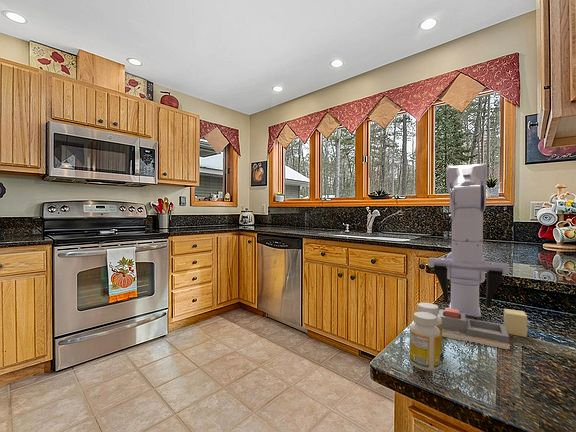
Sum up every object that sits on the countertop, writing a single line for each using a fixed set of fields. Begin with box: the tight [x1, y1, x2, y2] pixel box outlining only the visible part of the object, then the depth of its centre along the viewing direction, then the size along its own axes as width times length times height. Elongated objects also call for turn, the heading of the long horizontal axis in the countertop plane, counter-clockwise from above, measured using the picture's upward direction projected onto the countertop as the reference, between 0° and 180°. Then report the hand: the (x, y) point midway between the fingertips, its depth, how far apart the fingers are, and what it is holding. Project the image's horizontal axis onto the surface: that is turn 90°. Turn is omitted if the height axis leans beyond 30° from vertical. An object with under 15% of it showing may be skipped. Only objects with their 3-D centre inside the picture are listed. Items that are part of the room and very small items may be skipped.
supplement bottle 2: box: [409, 311, 441, 372], centre depth 55 cm, size 5×5×10 cm
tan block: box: [503, 308, 528, 338], centre depth 70 cm, size 4×4×5 cm
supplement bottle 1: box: [417, 302, 443, 356], centre depth 60 cm, size 5×5×10 cm
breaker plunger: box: [444, 306, 459, 318], centre depth 70 cm, size 3×3×3 cm
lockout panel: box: [437, 309, 511, 350], centre depth 68 cm, size 10×14×4 cm
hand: (466, 303), depth 61 cm, fingers open, 7 cm apart
